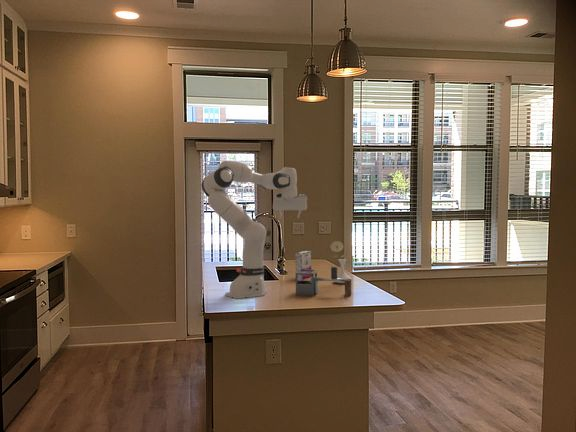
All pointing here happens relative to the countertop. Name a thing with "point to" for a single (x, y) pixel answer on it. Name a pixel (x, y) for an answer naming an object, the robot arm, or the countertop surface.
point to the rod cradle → (348, 287)
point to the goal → (305, 283)
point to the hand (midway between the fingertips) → (290, 217)
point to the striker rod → (333, 278)
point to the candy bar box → (303, 262)
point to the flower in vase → (338, 247)
